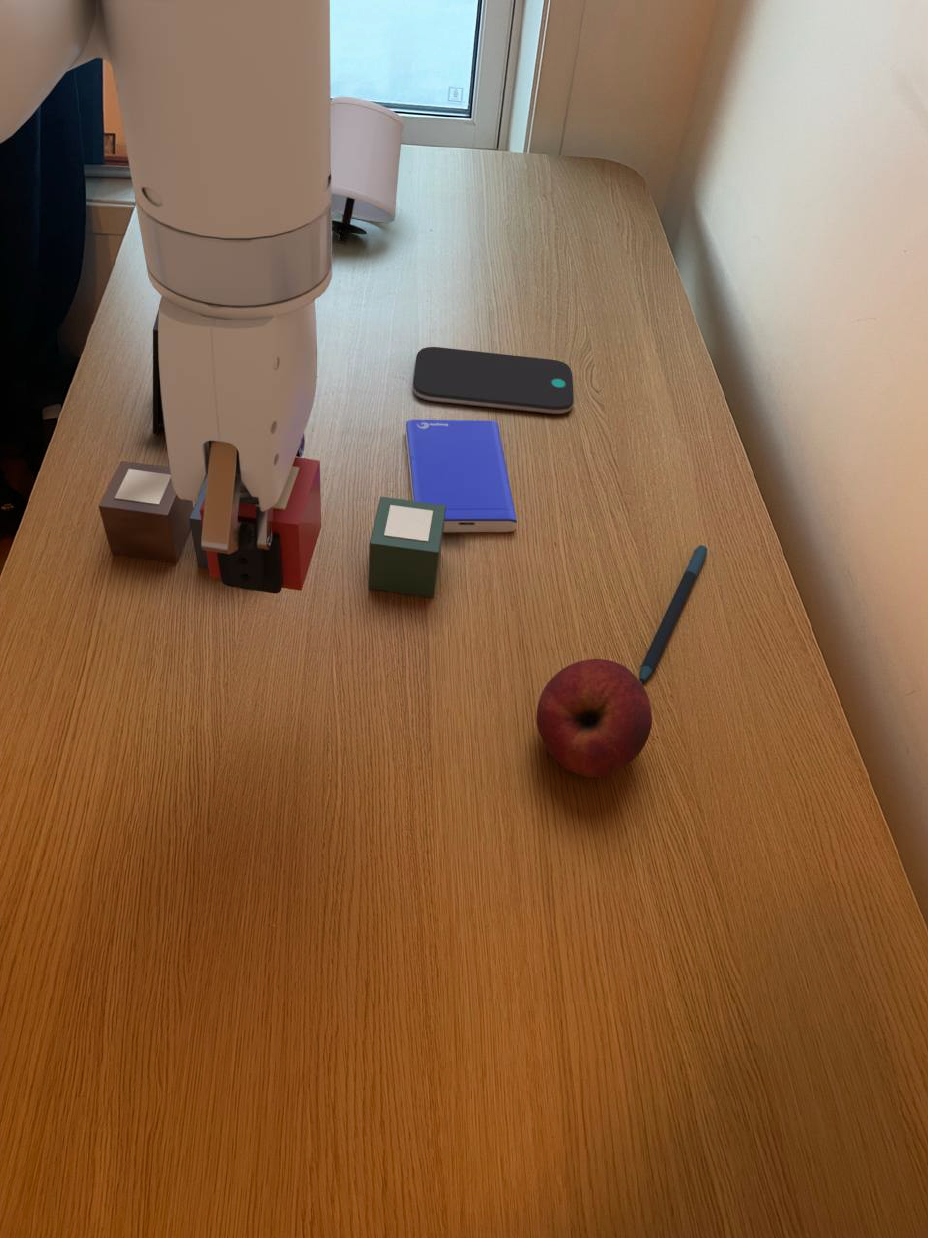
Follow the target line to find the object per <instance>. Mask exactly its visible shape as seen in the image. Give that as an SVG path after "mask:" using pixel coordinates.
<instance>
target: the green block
mask: <svg viewBox="0 0 928 1238" xmlns="http://www.w3.org/2000/svg"><path fill="white" fill-rule="evenodd" d="M445 512H446V506H445V505H439V504H431V503H424V502H417V501H412V500H408V499H401V498H394V497H387V496H380V497H379V501H378V505H377V509H376V514H375V518H374V522H373V527H372V531H371V536H370V540H369V554H368V555H369V558H368V590H372V591H380V592H386V593H387V592H388V593H394V594H403V595H409V596H410V595H411V596H417V597H425V598H431V599H434V598H435V593H436V587H437V580H438V575H439V567H440V561H441V560H440V559H441V555H442V554H441V553H442V546H443V537H444V532H443V529H444V521H445Z"/></svg>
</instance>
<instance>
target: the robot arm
mask: <svg viewBox="0 0 928 1238" xmlns="http://www.w3.org/2000/svg"><path fill="white" fill-rule="evenodd" d="M94 59H102V60H105V61H106V62H107V63H109V64H110V65H111V68H112V74H113V79H114V80H113V81H114V85H115V92H116V97H117V102H118V103H117V104H118V108H119V114H120V119H121V125H122V126H121V127H122V131H123V137H124V144H125V149H126V156H127V161H128V166H129V167H128V168H129V171H130V178H131V183H132V184H131V185H132V190H133V193H134V201H135V206H136V213H137V219H138V225H139V230H140V236H141V241H142V247H143V253H144V260H145V265H146V270H147V276H148V279H149V282H150V283H151V285H152V287H153V288H154V290H155V291H156V292H157V293H158V294H159V295H160V296H161V297H160V301H159V303H158V309H159V318H158V350H159V372H160V387H161V398H162V408H163V416H164V426H165V429H164V433H165V442H166V450H167V455H168V456H167V457H168V464H169V467H170V472H171V479H172V484H173V488H174V491H175V493H176V494H177V496H178V497H179V498H180V499H183V500H190V501H193V502H196V501H197V498H198V496H199V493H200V491H201V488H202V486H203V484H204V481H205V479H206V476H207V474H208V477H207V487H206V498H205V508H204V518H203V528H202V539H201V547H202V550H207V551H213V552H217V556H218V563H219V570H220V576H221V578H220V581H221V583H222V584H223V585H224V586H226V587H230V588H235V589H236V588H237V589H241V590H247V591H255V592H261V593H268V594H279V593H281V592H282V589H283V588H282V585H283V573H282V559H281V545H280V535H277V534H273V506H274V505H275V504H276V503H277V502H278V500H279V499H280V496H281V494H282V492H283V489H284V487H285V484H286V481H287V479H288V476H289V473H290V471H291V468H292V465H293V462H294V460H295V457H299V458H303V455H304V451H305V446H306V445H305V444H306V438H305V432H306V428H307V425H308V423H309V419H310V417H311V414H312V410H313V407H314V402H315V397H316V391H317V382H318V381H317V380H318V335H317V334H318V333H317V313H316V312H317V311H316V300H317V299H318V298H320V297H321V296H322V295H323V294H324V293H325V292H326V291H327V289H328V288H329V286H330V283H331V281H332V278H333V231H332V220H333V211H332V196H331V193H332V187H331V100H332V98H331V96H332V93H331V91H332V89H331V0H0V144H2V143H4V142H5V141H7V140H8V139H9V138H11V137H12V136H13V135H15V133H16V132H17V131H18V130H20V129H21V127H22V126H23V125H24V124H25V123H26V122H27V121H28V120H29V119H30V118H31V117H32V116H33V114H35V112H36V111H37V110H38V108H39V107H40V106H41V104H43V102H44V101H45V99H46V98H47V97H48V96H49V95H50V93H51V92H52V91H53V90H54V89H55V87H56V86H57V84H58V83H59V82H60V80H61V79H62V78H63V77H64V75H65V74H66V73H67V72H69V71H71V70H73V69H76V68H77V67H80V66H82V65H84V64H86V63H88V62H91V61H92V60H94ZM241 480H242V481H241ZM239 503H245V504H252V505H256V506H257V523H256V524H255V523H249V522H242V521H238V508H239Z"/></svg>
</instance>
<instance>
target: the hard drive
mask: <svg viewBox="0 0 928 1238" xmlns="http://www.w3.org/2000/svg"><path fill="white" fill-rule="evenodd" d="M498 423H499V422H498V421H496V420H491V419H490V420H489V419H487V420H485V419H484V420H483V419H480V420H479V419H409V420H406V421H405V429H404V430H405V432H404V433H405V442H406V443H405V444H406V452H407V461H408V472H409V481H410V482H409V483H410V491H411V492H410V493H411V501H417V502H424V503H431V504H439V505H445V506H446V512H445V521H444V529H443V533H510V532H514V531H516V528H517V523H518V520H517V515H516V510H515V509H516V508H515V504H514V499H513V493H512V489H511V485H510V484H511V483H510V479H509V473H508V467H507V463H506V459H505V453H504V448H503V442H502V439H501V438H502V437H501V433H500V427H499V424H498Z"/></svg>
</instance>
